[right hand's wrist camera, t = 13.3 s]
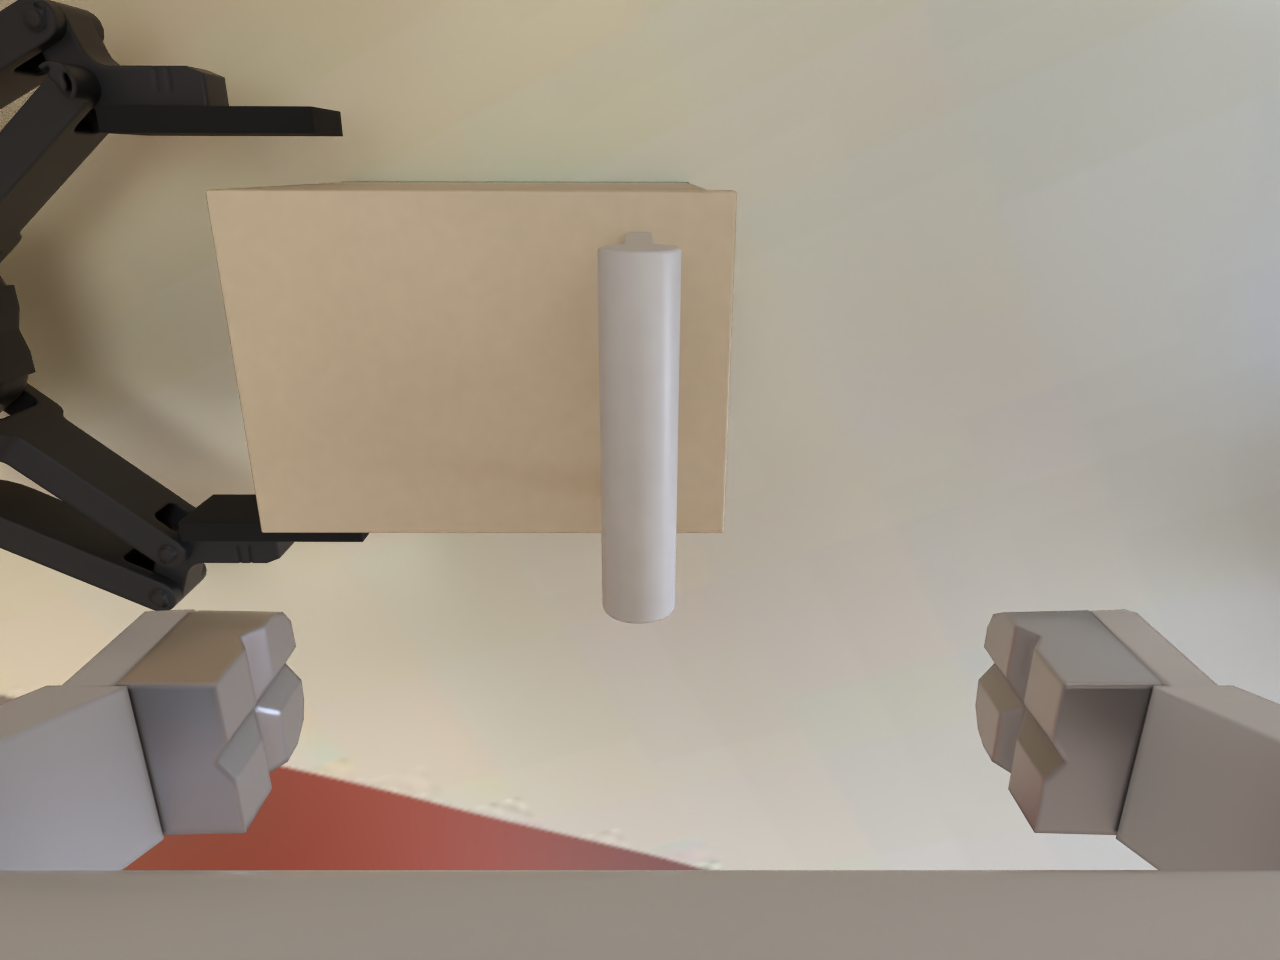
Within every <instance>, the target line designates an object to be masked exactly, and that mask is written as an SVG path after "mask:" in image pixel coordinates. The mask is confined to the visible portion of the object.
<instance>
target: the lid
mask: <svg viewBox="0 0 1280 960" xmlns="http://www.w3.org/2000/svg"><path fill="white" fill-rule="evenodd" d="M206 197H207V203H208V209H209V215H210V221H211V227H212V233H213V239H214V246H215V252H216V258H217V264H218V270H219V276H220V282H221V288H222V294H223V300H224V306H225V312H226V318H227V324H228V330H229V336H230V342H231V348H232V354H233V360H234V366H235V372H236V378H237V384H238V390H239V397H240V403H241V409H242V415H243V421H244V427H245V433H246V439H247V445H248V451H249V457H250V463H251V469H252V475H253V481H254V487H255V493H256V499H257V505H258V511H259V517H260V523H261V529H262V532H263V533H602V593H603V608H604V610H605V612H606V613H607V614H608V615H609V616H611V617H612V618H614V619H617V620H619V621H623V622H628V623H650V622H655V621H658V620H661V619H663V618H665V617H667V616H668V615H670V614H671V613H672V611H673V609H674V607H675V577H676V533H723V531H724V512H725V486H726V461H727V435H728V410H729V384H730V358H731V333H732V307H733V282H734V256H735V230H736V205H737V193H736V192H735V191H732V190H310V189H220V190H207V191H206Z"/></svg>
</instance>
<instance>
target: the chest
mask: <svg viewBox="0 0 1280 960" xmlns="http://www.w3.org/2000/svg"><path fill="white" fill-rule="evenodd" d="M237 189H310V190H706V189H703V188H700V187H697V186H694V185H692V184H689V183H688V182H371V181H351V182H340V183H323V184H306V185H288V186H271V187H254V188H237Z"/></svg>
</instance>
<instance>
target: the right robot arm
mask: <svg viewBox="0 0 1280 960" xmlns="http://www.w3.org/2000/svg"><path fill="white" fill-rule="evenodd" d="M295 647H296V644H295V639H294V634H293V629H292V624H291V621H290V620H289V619H288V617H287V616H286V615H285V614H284V613H283V612H250V611H195V610H161V611H148V612H144V613H143V614H142V615H141V616H140V617H138V618H137V619H136V620H135V621H134V622H133V623H132V624H131V625H129V626H128V627H127V628H126V629H125V630H124V631H123V632H122V633H120V634H119V635H118V636H117V637H116V638H115V639H114V640H113V641H111V642H110V643H109V644H108V645H107V646H106V647H105V648H104V649H102V650H101V651H100V652H99V653H98V654H97V655H96V656H95V657H93V658H92V659H91V660H90V661H89V662H88V663H87V664H86V665H84V666H83V667H82V668H81V669H80V670H79V671H78V672H77V673H75V674H74V675H73V676H72V677H71V678H70V679H69V680H68V681H66V682H65V683H64V684H63V685H62V686H45V687H43V688H40V689H38V690H35V691H33V692H30V693H28V694H25V695H23V696H20V697H18V698H15V699H13V700H10V701H8V702H5V703H3V704H0V960H1280V704H1277V703H1275V702H1272V701H1270V700H1267V699H1265V698H1262V697H1260V696H1257V695H1255V694H1252V693H1250V692H1247V691H1245V690H1242V689H1240V688H1237V687H1235V686H1218V685H1217V684H1216V683H1215V682H1214V681H1213V680H1211V679H1210V678H1209V677H1208V676H1207V675H1206V674H1205V673H1204V672H1202V671H1201V670H1200V669H1199V668H1198V667H1197V666H1196V665H1195V664H1193V663H1192V662H1191V661H1190V660H1189V659H1188V658H1187V657H1186V656H1184V655H1183V654H1182V653H1181V652H1180V651H1179V650H1178V649H1177V648H1176V647H1174V646H1173V645H1172V644H1171V643H1170V642H1169V641H1168V640H1167V639H1165V638H1164V637H1163V636H1162V635H1161V634H1160V633H1159V632H1158V631H1156V630H1155V629H1154V628H1153V627H1152V626H1151V625H1150V624H1149V623H1147V622H1146V621H1145V620H1144V619H1143V618H1142V617H1141V616H1140V615H1139V614H1137V613H1135V612H1132V611H1128V610H1125V609H1122V610H1100V611H1089V610H1083V611H1041V612H1004V613H998V614H993V616H992V618H991V621H990V623H989V625H988V627H987V633H986V638H985V644H984V647H985V649H986V650H987V652H988V653H989V655H990V657H991V658H992V660H993V661H994V665H993V666H992V667H991V668H990V669H989V670H988V671H987V672H986V673H985V674H984V675H983V676H982V677H981V678H980V679H979V681H978V689H977V698H976V715H977V725H978V731H979V734H980V737H981V740H982V743H983V746H984V748H985V750H986V751H987V753H988V755H989V757H990V759H991V760H992V762H994V763H996V764H997V765H999V766H1000V767H1002V768H1004V769H1005V770H1007V771H1008V772H1010V773H1011V776H1010V782H1009V788H1008V789H1009V791H1010V793H1011V794H1012V796H1013V798H1014V799H1015V801H1016V803H1017V804H1018V806H1019V808H1020V809H1021V811H1022V812H1023V814H1024V816H1025V817H1026V819H1027V821H1028V822H1029V824H1030V826H1031V827H1032V829H1033V831H1034V832H1035V833H1063V834H1100V835H1117V836H1116V839H1117V840H1119V841H1120V842H1121V843H1123V844H1124V845H1125V846H1127V847H1128V848H1129V849H1131V850H1132V851H1133V852H1135V853H1136V854H1138V855H1139V856H1140V857H1142V858H1143V859H1144V860H1146V861H1147V862H1148V863H1150V864H1151V865H1152V866H1154V867H1155V868H1156V869H1158V870H122V869H124V868H125V867H126V866H128V865H129V864H131V863H132V862H133V861H135V860H136V859H137V858H139V857H140V856H141V855H143V854H144V853H145V852H147V851H148V850H149V849H151V848H152V847H154V846H155V845H156V844H158V843H159V842H160V841H162V840H163V839H164V837H163V835H180V834H215V833H245V832H246V831H247V829H248V827H249V826H250V824H251V823H252V821H253V819H254V818H255V816H256V814H257V813H258V811H259V809H260V808H261V806H262V804H263V802H264V801H265V799H266V797H267V796H268V794H269V792H270V791H271V789H272V788H271V782H270V776H269V773H270V772H272V771H273V770H275V769H276V768H278V767H280V766H281V765H283V764H284V763H286V762H288V760H289V758H290V757H291V755H292V753H293V751H294V749H295V748H296V746H297V744H298V740H299V736H300V732H301V728H302V724H303V720H304V695H303V688H302V681H301V679H300V678H299V677H298V676H297V675H296V674H295V673H294V672H293V671H292V670H291V669H290V668H289V667H288V666H287V665H286V661H287V660H288V658H289V657H290V655H291V653H292V652H293V650H294V649H295Z"/></svg>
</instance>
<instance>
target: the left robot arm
mask: <svg viewBox="0 0 1280 960" xmlns="http://www.w3.org/2000/svg"><path fill="white" fill-rule="evenodd" d="M103 40H104V29H103V27H102V25H101V22H100V21H99V20H98V18H97V17H96V16H95V15H94V14H92V13H90V12H89V11H87V10H83V9H79V8H76V7H72V6H69V5H65V4H61V3H58V2H54V1H51V0H17V1H16V2H14V3H13V4H11V5H10V6H8V7H6V8H5V9H3V10H2V11H0V109H2V108H3V107H5V106H6V105H8V104H10V103H11V102H13V101H15V100H16V99H18V98H19V97H21V96H23V95H24V94H26V93H28V92H29V91H31V90H32V89H34V88H36V87H37V86H39V85H40V84H41V85H40V86H39V88H38V89H37V90H36V91H35V92H34V93H33V94H32V96H31V97H30V98H29V99H28V100H27V101H26V103H25V104H24V105H23V106H22V107H21V108H20V110H19V111H18V112H17V113H16V114H15V115H14V117H13V118H12V119H11V120H10V121H9V122H8V124H7V125H6V126H5V127H4V128H3V129H2V131H1V132H0V263H1V261H2V260H3V259H4V258H5V257H6V256H7V255H8V254H9V253H10V252H11V250H12V249H13V248H14V247H15V246H16V245H17V244H18V243H19V241H20V240H21V237H22V236H21V235H20V231H21V230H22V229H23V227H24V226H25V225H26V224H27V223H28V222H29V221H30V220H31V219H32V217H33V216H34V215H35V214H36V213H37V212H38V211H39V210H40V209H41V208H42V206H43V205H44V204H45V203H46V202H47V201H48V200H49V199H50V198H51V196H52V195H53V194H54V193H55V192H56V191H57V190H58V189H59V188H60V186H61V185H62V184H63V183H64V182H65V181H66V180H67V179H68V178H69V176H70V175H71V174H72V173H73V172H74V171H75V170H76V169H77V168H78V166H79V165H80V164H81V163H82V162H83V161H84V160H85V159H86V158H87V157H88V155H89V154H90V153H91V152H92V151H93V150H94V149H95V148H96V147H97V145H98V144H99V143H100V142H101V141H102V140H103V139H104V138H105V137H106V135H107V134H108V133H114V134H131V135H148V136H343V133H342V124H341V115H340V112H339V111H333V110H327V109H322V108H316V107H298V106H229V104H228V97H227V90H226V84H225V78H224V77H222V76H219V75H217V74H215V73H212V72H210V71H207V70H202V69H198V68H193V67H188V66H120V65H119V64H117V63H116V62H115V61H114V60H113V59H112V57H111V56H110V54H109V53H108V51H107V49H106V47H105V45H104V43H103ZM34 372H35V368H34V364H33V360H32V356H31V352H30V350H29V348H28V346H27V344H26V342H25V340H24V338H23V336H22V334H21V332H20V330H19V304H18V299H17V295H16V291H15V287H14V285H6V284H5V283H4V281H3V279H2V278H1V276H0V412H2V411H5V412H6V413H8V414H9V415H10V416H8V417H5V418H3V419H0V462H3V463H6V464H8V465H9V466H11V467H12V468H14V469H15V470H17V471H18V472H20V473H21V474H23V475H24V476H26V477H27V478H29V479H30V480H32V481H33V482H35V483H36V484H38V485H39V486H41V487H42V488H44V489H45V490H47V491H48V492H50V493H51V494H53V495H55V496H56V497H58V498H59V499H61V500H62V501H61V500H59V499H57V498H54V497H52V496H50V495H47V494H45V493H42V492H40V491H38V490H35V489H33V488H30V487H27V486H24V485H22V484H18V483H14V482H10V481H5V480H0V548H2V549H4V550H7V551H9V552H12V553H14V554H17V555H19V556H22V557H24V558H27V559H29V560H31V561H34V562H36V563H39V564H41V565H44V566H46V567H49V568H51V569H54V570H56V571H59V572H61V573H64V574H66V575H69V576H71V577H73V578H76V579H78V580H81V581H83V582H86V583H88V584H91V585H93V586H96V587H98V588H101V589H103V590H106V591H108V592H111V593H113V594H115V595H118V596H120V597H123V598H125V599H128V600H130V601H133V602H135V603H138V604H140V605H143V606H145V607H148V608H150V609H153V610H155V611H161V610H170V609H172V608H173V607H174V606H175V605H176V604H177V603H179V602H180V601H181V600H182V599H183V598H184V597H185V596H186V595H187V594H188V593H189V592H190V591H191V590H192V589H193V588H194V587H195V586H196V585H197V584H199V583H200V582H201V581H202V580H203V579H204V577H205V576H206V567H205V564H204V563H240V562H242V563H251V562H252V563H268V562H271V561H273V560H276V559H279V558H280V557H281V556H282V555H283V554H284V553H285V552H286V551H287V549H288V548H289V547H290V546H291V545H292V544H293V543H294V542H363V541H364V539H365V538H366V537H367V535H368V534H369V533H263V532H262V529H261V523H260V517H259V511H258V505H257V499H256V495H212V496H211V497H210V498H208V499H207V500H206V501H204V502H203V503H202V504H201V505H199V506H198V507H197V508H195V507H193V506H192V505H190V504H189V503H188V502H186V501H185V500H183V499H182V498H180V497H179V496H177V495H176V494H174V493H173V492H171V491H170V490H169V489H167V488H166V487H164V486H163V485H161V484H160V483H158V482H157V481H155V480H154V479H152V478H151V477H150V476H148V475H147V474H145V473H144V472H142V471H141V470H139V469H138V468H136V467H135V466H133V465H132V464H131V463H129V462H128V461H126V460H125V459H123V458H122V457H120V456H119V455H117V454H116V453H114V452H113V451H112V450H110V449H109V448H107V447H106V446H104V445H103V444H101V443H100V442H98V441H97V440H95V439H94V438H93V437H91V436H90V435H88V434H87V433H85V432H84V431H82V430H81V429H79V428H78V427H76V426H75V425H74V424H72V423H71V422H69V421H68V420H66V419H65V418H64V416H63V409H62V408H61V407H60V406H59V405H58V404H57V403H55V402H54V401H52V400H51V399H49V398H48V397H47V396H45V395H44V394H42V393H41V392H39V391H38V390H36V389H35V388H33V387H32V386H31V385H29V384H28V383H27V379H28V374H31V373H34Z"/></svg>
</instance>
